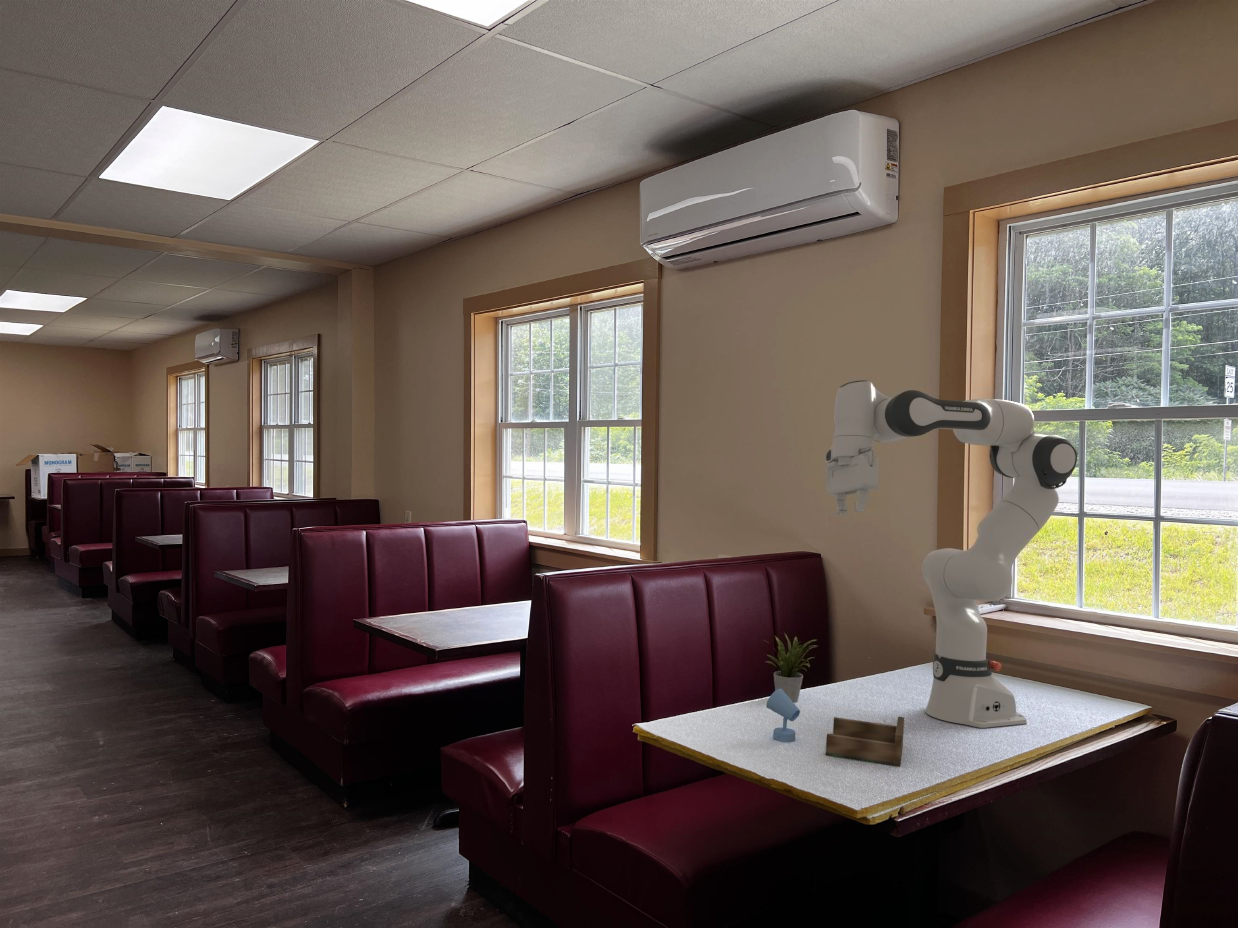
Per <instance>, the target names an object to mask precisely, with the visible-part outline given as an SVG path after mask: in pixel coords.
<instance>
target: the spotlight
mask: <svg viewBox="0 0 1238 928" xmlns="http://www.w3.org/2000/svg"><path fill="white" fill-rule="evenodd" d="M765 706H766V709H769V710H770V711H772V712H774V713H776V714H777V715H779V716H781V717H783V718H782V727H776V728H773V734H772V738H773V739H774V740H775V741H778V742H782V743H794V742H795V741H796V734H797V733H796V731H795V730H794V729H792V728H790V727H789V728H788V727H787V726H788V721H790V722H794V721H795V720H797V718H799V717H800V713H801V710H800V709H799V707H798V706H797V705H796V704H795V703H793V702H792V701H791V699H790V698H789V697H788V696H787V695H786V693H785V692H784V691H783V690H782V689H777V690H776V691H775V690H774V691H773V693H771V695H770V696H769V698H768V699H767V701H766V705H765Z"/></svg>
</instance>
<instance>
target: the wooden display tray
mask: <svg viewBox="0 0 1238 928" xmlns="http://www.w3.org/2000/svg"><path fill="white" fill-rule="evenodd" d="M832 725H833V729H832V733H826V743H825V744H826V745H825V756H827V757H828V756H829V757H834V758H840V759H847V760H852V761H859V762H865V763H871V764H878V765H886V766H891V767H897V768H901V764H902V756H903V755H902V754H903V748H904V731H905V730H904V727H905V717H904V716H897V722H896V725H892V724H885V723H878V722H871V721H864V720H857V719H850V718H845V717H844V718H843V717H835V716H833V724H832Z"/></svg>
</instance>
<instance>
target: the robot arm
mask: <svg viewBox="0 0 1238 928" xmlns="http://www.w3.org/2000/svg"><path fill="white" fill-rule="evenodd" d="M833 413H834V414H833V421H834V427H835V429H834V433H833V437H832V444H831V446H830V447H829V448H830V449H828V451H827V452H826V453H825V455H824V463H827V466H826V472H825V475H826V476H825V477H826V478H825V482H826V483H825V488H826V492H827V495H828V496H831V497H834V501H835V504H836V508H837V509H836V513H837V514H838V515H842V516H846V515H847V513H848V506H846V500H847V496H849V495H853V494H854V495H855V494H856V495H857V497H856V502H855V503H854V512H856V513H862V512H865V510H866V504H867V500H868V498H869V492H870V491H873V490H876V489H878V486H879V483H880V482H879V481H880V479H879V475H880V474H879V473H880V472H879V460H878V458H877V456H875V455H876V454H875V450H874V441H875V442H878V443H879V442H880V443H891V442H896V441H900V440H903V439H908V438H911V437H920V436H923V435H925V434H927V433H930V432H931V431H933V430H935V429H936V430H937V429H940V430H952V431H953V434H954V436H955V438H956V439H957V440H958V441H959V442H961V443H963V444H968V445H972V446H983V447H984V446H988V447H990V448H989V462H990V465H991V468H992V469H993V471H995V472H996V474H999V475H1001V476H1002V477H1006V478H1009V479H1014V482H1013V485H1012V487H1011V489H1010V490H1009V492H1008V493H1006V494H1005V496H1003V497H1002V498H1001V500H999V501H998V503H996V505H995V506H993V508H992V509H991V510H990V511H989V512H988V513H987V514H986V515H985V516H984V517H983V519H981V520H980V521H979V522H978V525H977V528H976V531H977V535H978V536H977V537H976V539H975V542H974V543H973V544H972V546H971V547H969V548H968V549H966V550H964V549H963V550H962V549H959V548H958V549H956V548H952V547H951V548H950V547H948V548H947V547H946V548H939V549H936V550H932V551H931V552H929V553H928V554H927V555H926V556H925V557H924V559H923V561H922V564H921V574H922V577H923V580H924V581H925V582H926V584H927V585H928V588H929V590H930V594H931V597H932V602H933V606H934V612H935V619H936V631H935V632H936V637H935V638H936V639H935V651H934V653H933V659H932V675H933V676H932V677H933V678H932V685H931V690H930V695H929V699H928V702H927V705H926V707H925V710H924V712H925V713H926V714H927V715H929V716H930V717H933V718H935V719H939V720H940V721H941V720H942V721H945V722H950V723H953V724H954V723H955V724H960V725H967V726H971V727H974V728H979V729H980V728H981V729H986V728H993V727H994V728H995V727H1003V726H1012V725H1013V726H1014V725H1024V724H1027V723H1028V722H1027V718H1026V717H1025V716H1024V715H1023V714H1021V713H1019V712H1017V703H1016V699H1015V696H1014V694H1013V692H1011V690H1009V688H1008V687H1006V686H1005V685H1004V684H1002V683H1001V681H999V679H997V678H996V677H995V676H994V675H993V672H992V670H993V671H996V672H1000V671H1001V669H1002V667H1003V666H1002V664H1001V663H1000V662H999V661H995V660H992V661H991V660H989V659H988V658H986V657H987V641H988V639H987V638H988V626H987V623H986V620H985V619H984V618H983V616H982V615H981V613H980V611H979V606H978V603H977V602H979V603H980V602H982V603H985V602H986V603H988V602H997V601H999V600H1001V599H1004V597H1006V596H1007V594H1008V593H1009V592H1010V590H1011V588H1012V582H1013V577H1012V576H1013V575H1012V572H1011V570H1012V568H1013V564H1014V562H1015V561H1016V559H1017V557H1018V555H1019V554H1020V553H1021V552H1022V551H1023V549H1024V548H1025V547H1026V546H1028V544H1029V542H1030V541H1032V539H1033V538H1034V537H1035V536H1036V535H1037V534H1038V533H1039V532H1040V531H1041V530H1042V528H1043V527H1044V526H1045V525H1046V524H1047V523H1048V522H1049V519H1050V518H1051V516H1052V515H1053V514H1054V512H1055V509H1056V508H1057V507H1058V504H1059V500H1060V498H1059V494H1058V492H1057V489H1059V488H1061V487H1063V486H1064V485H1065V484H1066V482H1067V480H1068V478H1070V476H1071V475H1072V474H1073V472H1074V471H1075V468H1076V466H1077V462H1078V451H1077V448H1076V446H1075V445H1074V443H1073V442H1072V441H1070V440H1069V439H1068V438H1065V437H1062V436H1060V435H1056V434H1055V435H1054V434H1049V435H1048V434H1047V435H1046V434H1041V433H1040V434H1039V433H1036V431H1035V430H1034V428H1035V418H1034V417H1035V416H1034V414H1033V412H1032V410H1031V409H1030V408H1029V406H1027V405H1026V404H1023V403H1020V402H1017V401H1011V400H1008V399H1007V400H1006V399H999V398H998V399H996V398H972V399H969V400H963V401H961V400H960V401H959V400H950V399H949V400H946V399H939V398H935V397H933V396H930V395H928V394H926V393H925V392H922V391H920V390H915V389H909V390H905V391H903V392H901V393H899V394H897V395H895V396H892V397H889V396H887V395H884V394H883V393H882V392H880V391H879V390H878V389H877V388H876V387H875V385H874V384H873V382H872V381H870V380H865V379H864V380H863V379H862V380H853V381H849V382H847V383H844V384H842V385H840V386H839V387H838V389H837V391H836V395H835V401H834V411H833Z"/></svg>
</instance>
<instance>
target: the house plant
mask: <svg viewBox="0 0 1238 928" xmlns="http://www.w3.org/2000/svg"><path fill="white" fill-rule="evenodd" d="M783 634H784V637H785V638H786V640H787V646H788V651H787V652H786V648H785V645H784V644H783V642H782V641H781V640H780V639H779V637H777V636H776V635H774V637H775V640H776V642H777V645H778V646H777V648H778V652H777V649H774V650H775V652H776V654H777V658H776V657H774V656H772V655H771V654H766V656H767V657H769V658H770V659H771V660H772V661H774V662H775V663H774V662H772V661H769V660H767V661H765V663H768V664H771V665H772V666H775V668H776V669H777V670H778V671H774V672H773V682H774V692H775V691H776V690H777V689H782V690H783V691H784V692H785V693H786V695H787V696H788V697H789V698H790V699H791V701H792V702H793V703H794V704H795V703H798V701H799V697H800V692H801V687H802V685H803V683H802V682H803V680H804V679H803V678H804V675H803V674H802V673H801V672H799V670H800V669H802V670H805V671H806V672H807V671H808V670H807V668H806V667H804V665H805V666H807V667H810V666H811V664H810V663H809V660H811V659H814V658H816V657H815V656H814V657H812V656H811V657H807V658H806V659H804V657H805V655H806V654H807V653H808V652H809V651H810V650H811V649H813V648H815V647H818V645H815V644H813V645H810V643H812V642H815V641H817V639H811V640H808V641H806V642H804V644H803V645H802V644H800V645H799V643H800V641H798V636H795V637H794V638H793V643H792V645H791V641H790V639H789V637H788V635H787V634H786V633H785V632H783ZM763 641H765V642H767V643H768V641H766V640H765V639H764V640H763ZM808 645H809V646H808ZM801 655H802V656H801ZM807 662H808V663H807ZM779 668H780V670H779Z"/></svg>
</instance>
